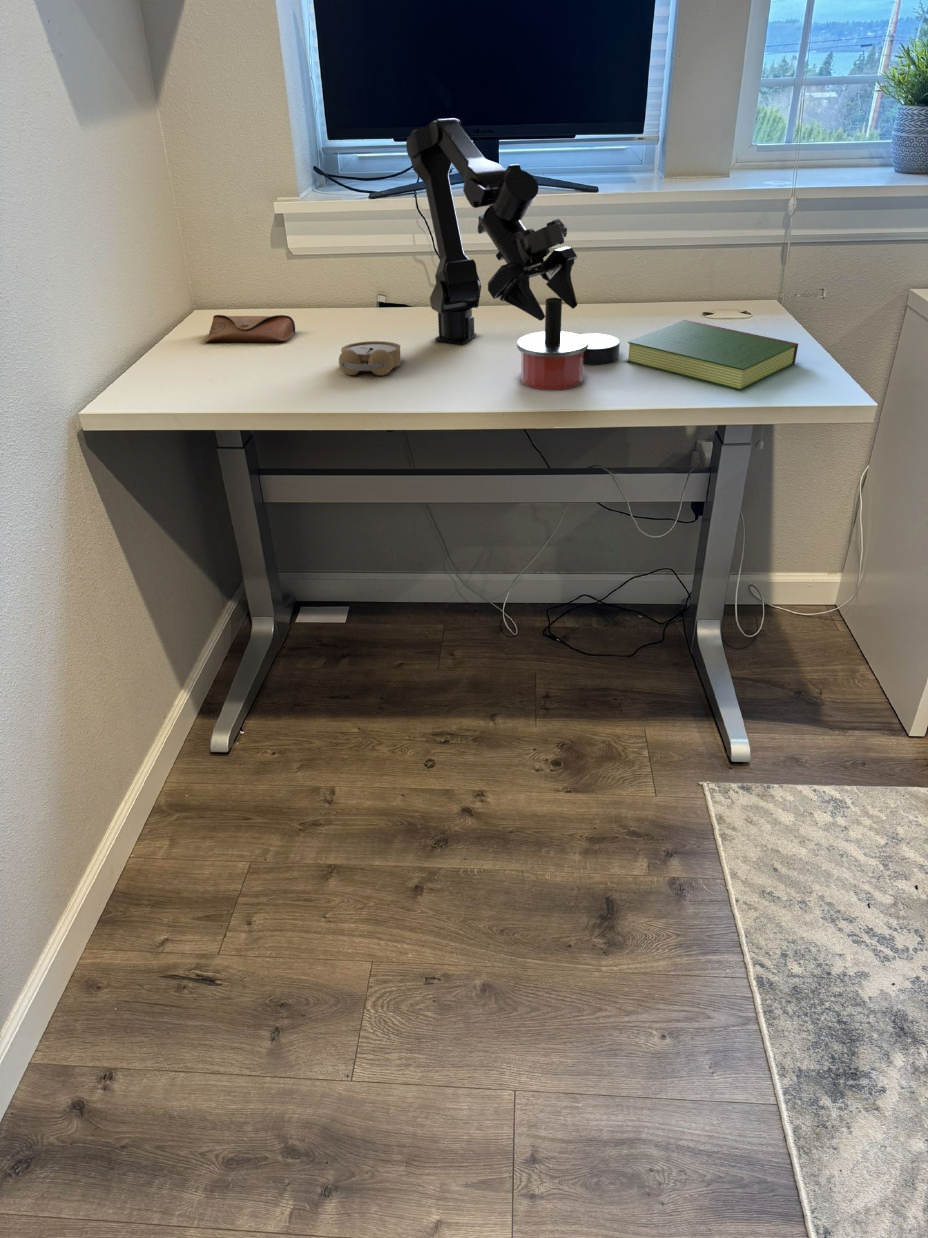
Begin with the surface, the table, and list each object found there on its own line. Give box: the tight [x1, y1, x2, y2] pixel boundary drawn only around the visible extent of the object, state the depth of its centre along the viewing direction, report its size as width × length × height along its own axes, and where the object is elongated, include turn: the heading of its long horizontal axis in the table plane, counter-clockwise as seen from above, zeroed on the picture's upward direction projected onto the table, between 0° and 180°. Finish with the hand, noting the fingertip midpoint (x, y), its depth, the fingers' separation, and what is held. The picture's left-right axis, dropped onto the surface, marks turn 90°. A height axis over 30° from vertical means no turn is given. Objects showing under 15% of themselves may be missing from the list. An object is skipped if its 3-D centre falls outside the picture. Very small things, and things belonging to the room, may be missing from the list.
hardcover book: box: [626, 319, 799, 392], centre depth 162 cm, size 25×19×4 cm
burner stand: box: [579, 333, 621, 366], centre depth 167 cm, size 10×10×3 cm
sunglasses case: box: [204, 314, 296, 344], centre depth 185 cm, size 18×7×7 cm
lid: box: [516, 297, 589, 357], centre depth 153 cm, size 13×13×8 cm
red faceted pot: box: [520, 351, 584, 391], centre depth 156 cm, size 11×11×6 cm
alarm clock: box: [338, 340, 402, 376], centre depth 165 cm, size 11×5×15 cm
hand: (559, 312), depth 151 cm, fingers open, 9 cm apart
